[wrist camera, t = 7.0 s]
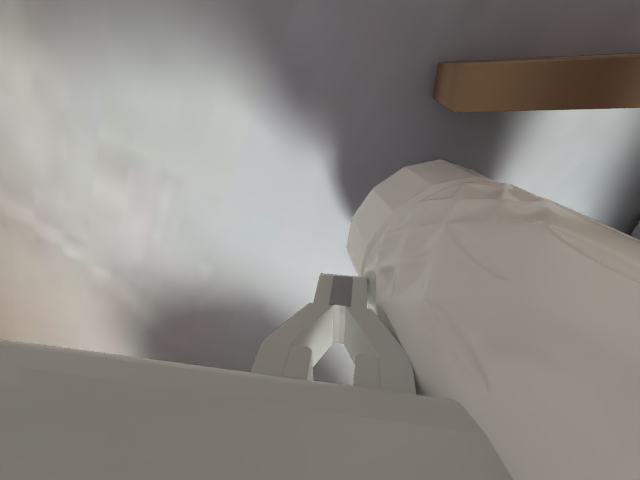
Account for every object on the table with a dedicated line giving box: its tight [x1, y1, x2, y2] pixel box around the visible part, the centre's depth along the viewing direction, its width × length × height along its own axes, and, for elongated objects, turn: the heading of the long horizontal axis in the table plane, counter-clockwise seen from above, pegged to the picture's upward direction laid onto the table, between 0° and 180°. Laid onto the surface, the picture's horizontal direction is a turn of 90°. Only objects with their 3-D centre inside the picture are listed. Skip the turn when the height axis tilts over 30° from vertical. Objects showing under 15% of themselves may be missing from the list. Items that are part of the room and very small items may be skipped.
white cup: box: [347, 159, 640, 480], centre depth 9 cm, size 8×8×10 cm
